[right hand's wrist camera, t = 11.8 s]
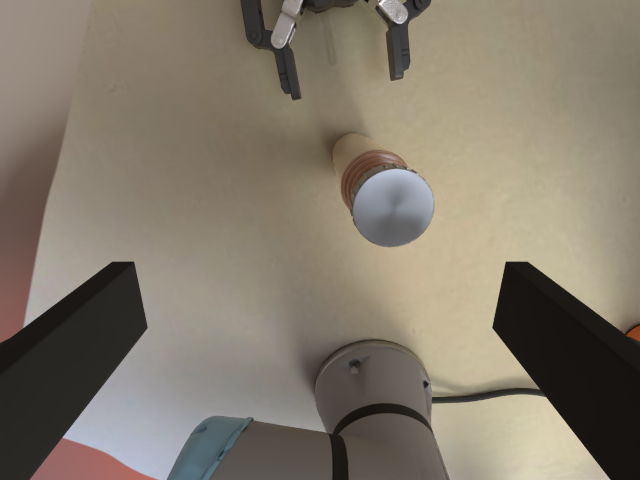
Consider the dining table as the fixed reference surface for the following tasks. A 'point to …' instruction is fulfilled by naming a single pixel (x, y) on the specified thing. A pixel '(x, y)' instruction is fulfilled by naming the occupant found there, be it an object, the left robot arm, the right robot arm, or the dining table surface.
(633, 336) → the cup with straw
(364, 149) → the bottle
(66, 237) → the dining table surface
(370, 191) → the cap
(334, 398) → the right robot arm
